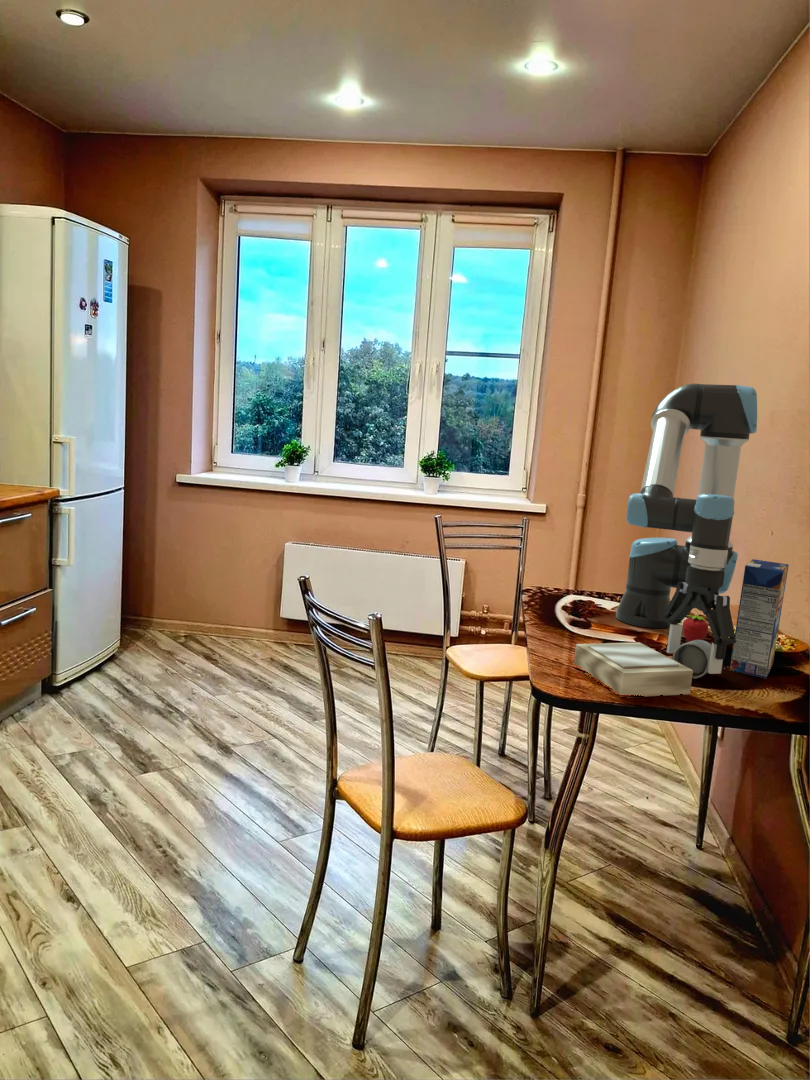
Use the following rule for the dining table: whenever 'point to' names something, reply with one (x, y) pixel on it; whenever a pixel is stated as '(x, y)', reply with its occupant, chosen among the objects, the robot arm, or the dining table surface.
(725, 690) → the dining table surface
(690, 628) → the strawberry
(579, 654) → the cream flat rectangular piece
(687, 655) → the ceramic mug
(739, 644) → the juice carton
